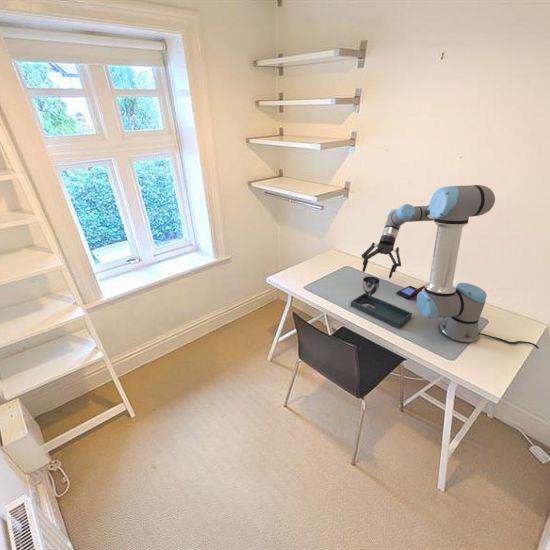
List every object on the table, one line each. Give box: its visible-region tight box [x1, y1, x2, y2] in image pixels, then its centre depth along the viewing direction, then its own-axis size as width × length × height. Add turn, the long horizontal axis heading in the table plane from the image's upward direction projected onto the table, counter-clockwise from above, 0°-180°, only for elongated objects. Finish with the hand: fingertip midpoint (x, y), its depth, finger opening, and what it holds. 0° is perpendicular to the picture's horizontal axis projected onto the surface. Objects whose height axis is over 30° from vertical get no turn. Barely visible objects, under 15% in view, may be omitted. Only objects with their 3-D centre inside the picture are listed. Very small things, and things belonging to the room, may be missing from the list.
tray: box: [350, 292, 413, 329], centre depth 156 cm, size 27×12×3 cm, turn 42°
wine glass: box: [361, 275, 381, 309], centre depth 157 cm, size 8×8×15 cm
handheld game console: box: [396, 284, 425, 300], centre depth 169 cm, size 12×11×7 cm
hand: (376, 274), depth 161 cm, fingers open, 13 cm apart
